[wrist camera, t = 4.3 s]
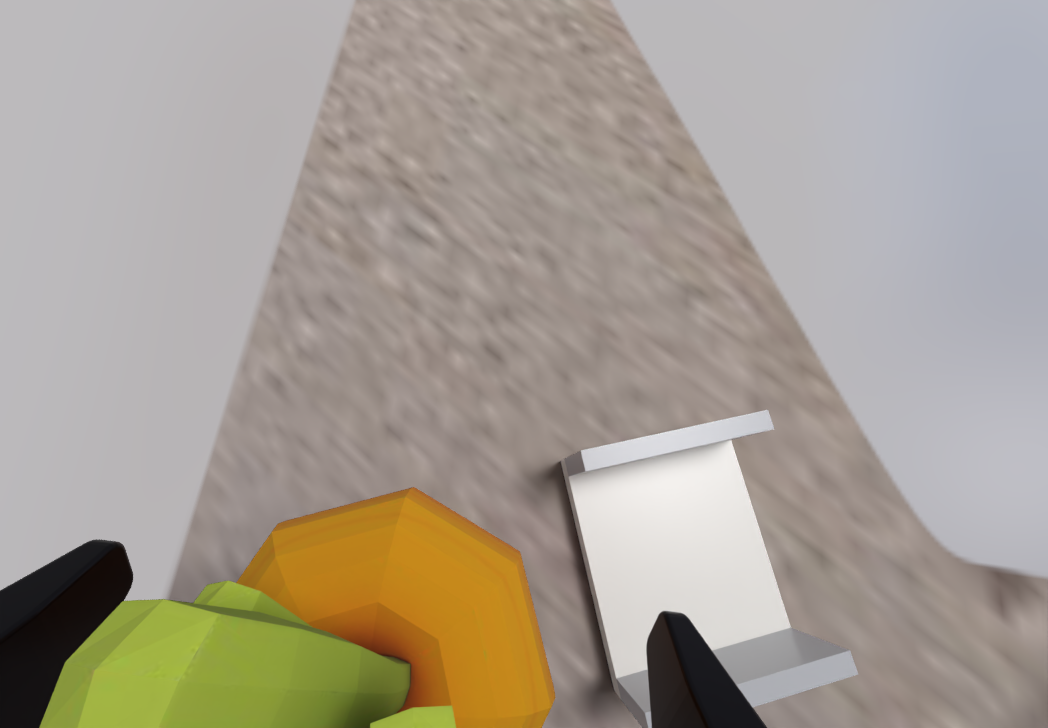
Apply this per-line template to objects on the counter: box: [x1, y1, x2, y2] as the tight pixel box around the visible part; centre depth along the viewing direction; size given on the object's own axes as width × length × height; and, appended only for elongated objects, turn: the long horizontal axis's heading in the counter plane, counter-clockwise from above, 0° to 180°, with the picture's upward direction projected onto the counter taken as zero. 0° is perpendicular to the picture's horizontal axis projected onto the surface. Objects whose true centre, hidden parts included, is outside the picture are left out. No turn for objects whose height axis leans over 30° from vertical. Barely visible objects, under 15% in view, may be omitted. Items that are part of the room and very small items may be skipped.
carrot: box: [39, 487, 555, 728], centre depth 9 cm, size 5×5×15 cm
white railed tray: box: [561, 410, 858, 728], centre depth 16 cm, size 7×6×4 cm
